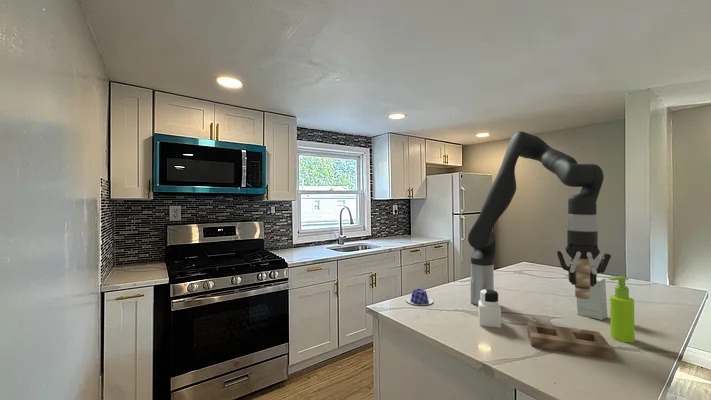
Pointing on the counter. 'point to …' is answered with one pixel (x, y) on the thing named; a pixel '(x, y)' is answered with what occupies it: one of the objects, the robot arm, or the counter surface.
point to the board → (569, 340)
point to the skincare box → (594, 302)
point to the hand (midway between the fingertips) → (582, 284)
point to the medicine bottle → (489, 309)
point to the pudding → (419, 297)
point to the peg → (582, 279)
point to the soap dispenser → (622, 312)
